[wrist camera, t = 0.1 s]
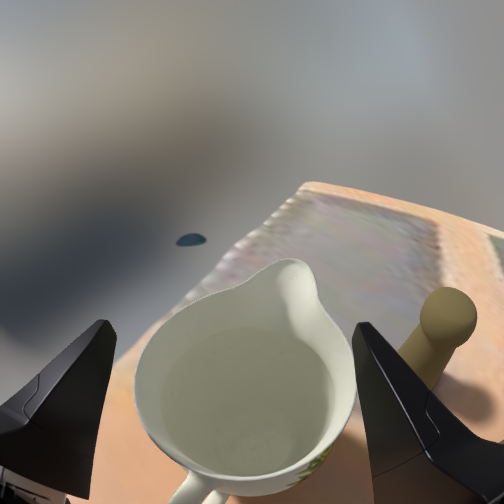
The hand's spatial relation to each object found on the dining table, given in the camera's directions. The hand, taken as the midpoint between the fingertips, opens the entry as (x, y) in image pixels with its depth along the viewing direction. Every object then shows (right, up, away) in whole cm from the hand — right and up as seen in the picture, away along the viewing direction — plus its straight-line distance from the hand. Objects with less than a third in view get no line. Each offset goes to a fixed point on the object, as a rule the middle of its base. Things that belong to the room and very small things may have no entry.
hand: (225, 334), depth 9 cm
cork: (+17, -10, +13) cm, 24 cm away
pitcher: (+1, -14, +9) cm, 17 cm away
